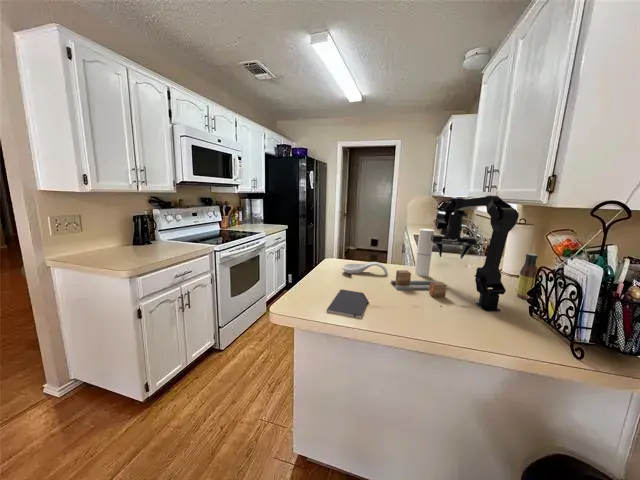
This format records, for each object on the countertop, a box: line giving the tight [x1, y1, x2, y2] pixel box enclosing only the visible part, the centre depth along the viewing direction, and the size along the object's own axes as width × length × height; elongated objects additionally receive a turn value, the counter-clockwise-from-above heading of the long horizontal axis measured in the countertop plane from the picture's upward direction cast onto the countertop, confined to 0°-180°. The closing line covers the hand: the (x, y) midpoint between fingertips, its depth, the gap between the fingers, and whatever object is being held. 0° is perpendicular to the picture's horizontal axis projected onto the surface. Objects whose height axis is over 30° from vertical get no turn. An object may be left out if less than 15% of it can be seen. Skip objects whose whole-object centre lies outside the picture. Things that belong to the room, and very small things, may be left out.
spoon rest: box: [341, 261, 388, 276], centre depth 144 cm, size 24×12×7 cm, turn 78°
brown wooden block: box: [428, 281, 448, 299], centre depth 115 cm, size 3×6×7 cm, turn 96°
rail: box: [389, 279, 438, 292], centre depth 126 cm, size 10×22×3 cm, turn 96°
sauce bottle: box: [516, 252, 539, 300], centre depth 121 cm, size 6×6×20 cm
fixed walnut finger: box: [395, 269, 412, 285], centre depth 125 cm, size 3×6×7 cm, turn 96°
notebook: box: [326, 288, 369, 319], centre depth 108 cm, size 13×2×21 cm
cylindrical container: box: [414, 228, 435, 277], centre depth 143 cm, size 7×7×25 cm
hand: (450, 257), depth 130 cm, fingers open, 9 cm apart
